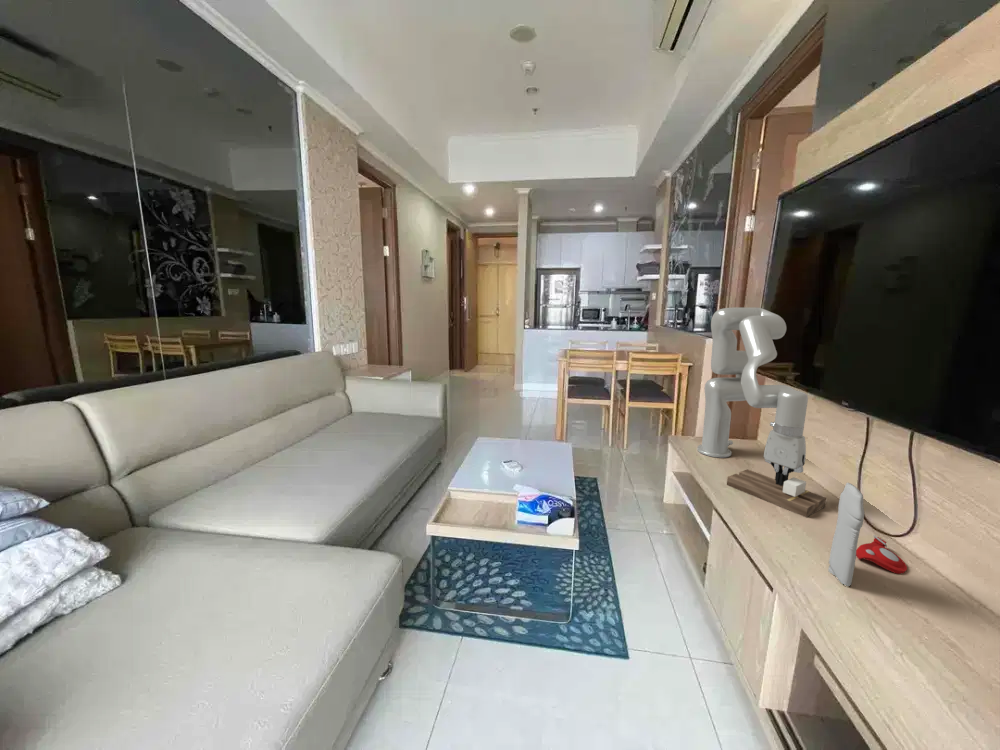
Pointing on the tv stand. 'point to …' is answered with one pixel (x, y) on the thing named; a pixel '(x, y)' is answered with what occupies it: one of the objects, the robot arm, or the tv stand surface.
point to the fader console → (776, 493)
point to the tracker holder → (881, 556)
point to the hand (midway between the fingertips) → (780, 483)
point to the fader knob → (794, 486)
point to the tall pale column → (846, 534)
